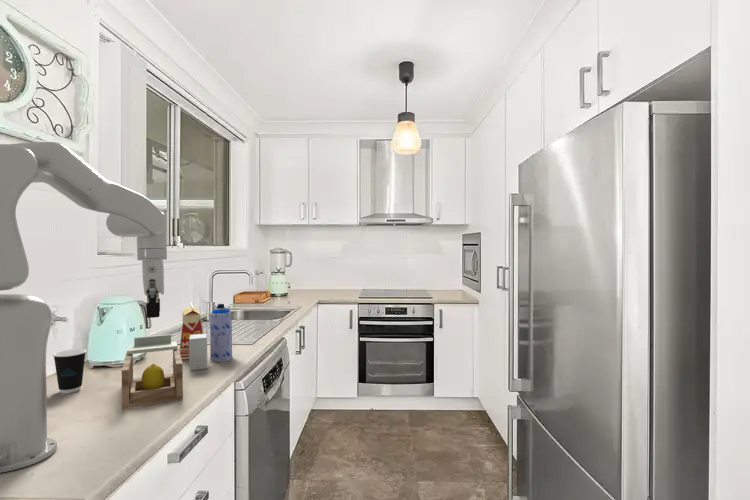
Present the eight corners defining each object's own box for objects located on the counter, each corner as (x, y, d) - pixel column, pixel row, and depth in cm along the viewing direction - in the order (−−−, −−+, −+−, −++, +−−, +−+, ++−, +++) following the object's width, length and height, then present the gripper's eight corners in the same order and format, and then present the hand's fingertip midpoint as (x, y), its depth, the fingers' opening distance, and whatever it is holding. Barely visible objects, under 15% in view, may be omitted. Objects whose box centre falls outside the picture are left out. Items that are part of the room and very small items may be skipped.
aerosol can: (237, 356, 159) (236, 303, 159) (222, 362, 151) (222, 305, 151) (219, 355, 161) (219, 302, 161) (205, 360, 154) (204, 305, 154)
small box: (207, 368, 143) (207, 337, 143) (189, 370, 141) (188, 339, 141) (207, 363, 151) (206, 333, 151) (189, 364, 149) (189, 334, 149)
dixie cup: (77, 384, 128) (76, 347, 128) (93, 388, 124) (92, 350, 124) (47, 392, 121) (46, 353, 121) (62, 396, 117) (62, 356, 117)
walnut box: (182, 399, 114) (182, 363, 114) (122, 409, 108) (121, 370, 108) (178, 375, 135) (178, 345, 135) (127, 382, 129) (127, 350, 129)
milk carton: (178, 355, 162) (177, 302, 162) (204, 352, 166) (203, 300, 166) (178, 360, 154) (177, 305, 154) (205, 357, 158) (205, 303, 158)
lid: (177, 349, 129) (177, 337, 129) (127, 354, 123) (127, 342, 123) (176, 344, 135) (176, 333, 135) (128, 349, 129) (128, 337, 129)
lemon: (154, 397, 113) (154, 367, 113) (136, 395, 114) (136, 365, 114) (168, 391, 118) (169, 362, 118) (152, 389, 120) (152, 360, 120)
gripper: (166, 255, 116) (168, 318, 116) (166, 253, 131) (168, 309, 131) (135, 256, 112) (136, 320, 113) (139, 254, 128) (140, 311, 128)
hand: (153, 314), depth 122 cm, fingers open, 9 cm apart
